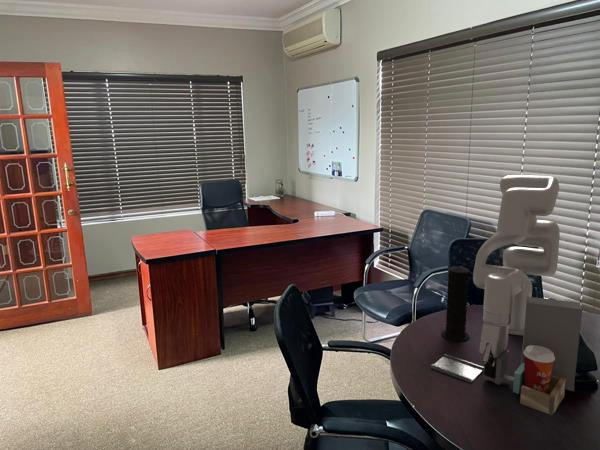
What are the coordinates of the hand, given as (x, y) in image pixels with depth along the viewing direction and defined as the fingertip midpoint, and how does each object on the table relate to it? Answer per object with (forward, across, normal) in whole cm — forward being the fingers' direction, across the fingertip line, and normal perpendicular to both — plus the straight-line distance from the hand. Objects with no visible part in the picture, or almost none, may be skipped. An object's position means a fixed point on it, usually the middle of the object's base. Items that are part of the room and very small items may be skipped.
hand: (493, 372), depth 130 cm
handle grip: (+3, -22, -21) cm, 30 cm away
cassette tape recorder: (+3, -10, +12) cm, 16 cm away
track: (+3, 0, -11) cm, 11 cm away
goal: (+3, 0, +14) cm, 14 cm away
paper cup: (+3, 0, +12) cm, 12 cm away
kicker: (+2, 0, +3) cm, 4 cm away
